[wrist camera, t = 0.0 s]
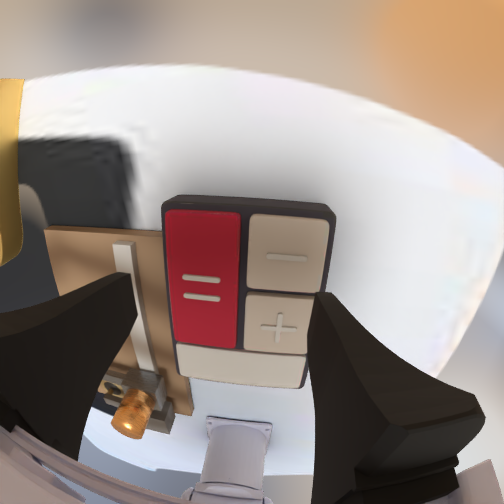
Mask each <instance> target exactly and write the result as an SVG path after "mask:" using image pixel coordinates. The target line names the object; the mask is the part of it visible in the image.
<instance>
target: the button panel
mask: <svg viewBox="0 0 504 504" xmlns="http://www.w3.org/2000/svg"><path fill="white" fill-rule="evenodd" d="M161 216H162V239H163V256H164V270H165V282H166V293H167V303H168V312H169V321H170V329H171V337H172V344H173V351H174V358H175V364H176V370H177V373H178V374H179V375H181V376H185V377H190V378H196V379H203V380H209V381H216V382H224V383H232V384H240V385H250V386H261V387H274V388H292V389H300V388H302V387H303V386H304V384H305V380H306V377H307V373H308V369H309V365H308V358H307V332H308V327H309V322H310V317H311V312H312V307H313V302H314V297H315V292H325V289H326V284H327V278H328V272H329V266H330V260H331V254H332V247H333V240H334V233H335V226H336V216H335V214H334V213H333V211H332V210H331V209H330V208H329V207H328V206H327V205H325V204H320V203H309V202H298V201H287V200H274V199H260V198H245V197H227V196H205V195H177V196H175V197H173V198H171V199H169V200H167V201H165V202H164V203H163V204H162V207H161Z"/></svg>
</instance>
